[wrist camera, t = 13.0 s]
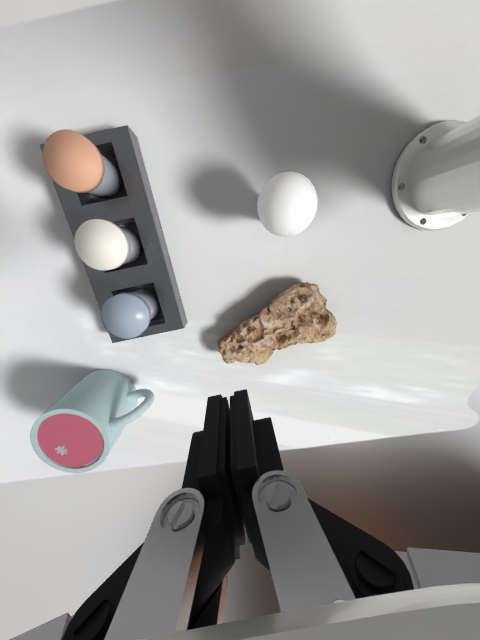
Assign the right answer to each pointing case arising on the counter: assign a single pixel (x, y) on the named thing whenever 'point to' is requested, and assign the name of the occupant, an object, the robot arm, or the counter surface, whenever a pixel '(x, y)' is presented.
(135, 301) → the light blue cylinder
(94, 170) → the terracotta key
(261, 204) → the lightbulb
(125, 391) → the mug
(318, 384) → the counter surface
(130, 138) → the key panel
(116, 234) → the cream key
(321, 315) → the rock
